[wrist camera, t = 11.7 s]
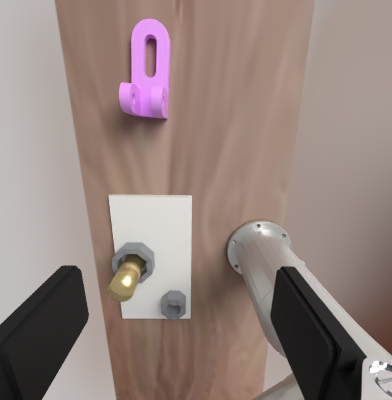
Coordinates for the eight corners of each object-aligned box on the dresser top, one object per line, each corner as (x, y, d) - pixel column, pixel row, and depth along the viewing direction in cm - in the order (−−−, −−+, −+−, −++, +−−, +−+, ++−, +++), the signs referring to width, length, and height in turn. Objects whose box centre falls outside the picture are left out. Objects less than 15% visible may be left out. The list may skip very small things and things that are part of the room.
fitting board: (191, 195, 38) (191, 200, 34) (190, 314, 46) (190, 328, 42) (110, 194, 37) (102, 200, 34) (123, 314, 45) (118, 328, 42)
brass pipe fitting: (148, 254, 40) (136, 285, 31) (142, 270, 41) (129, 304, 32) (129, 247, 39) (111, 277, 31) (123, 263, 40) (104, 297, 32)
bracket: (167, 119, 34) (161, 114, 27) (134, 115, 34) (119, 110, 27) (171, 26, 30) (165, -6, 24) (134, 22, 30) (117, -12, 23)
